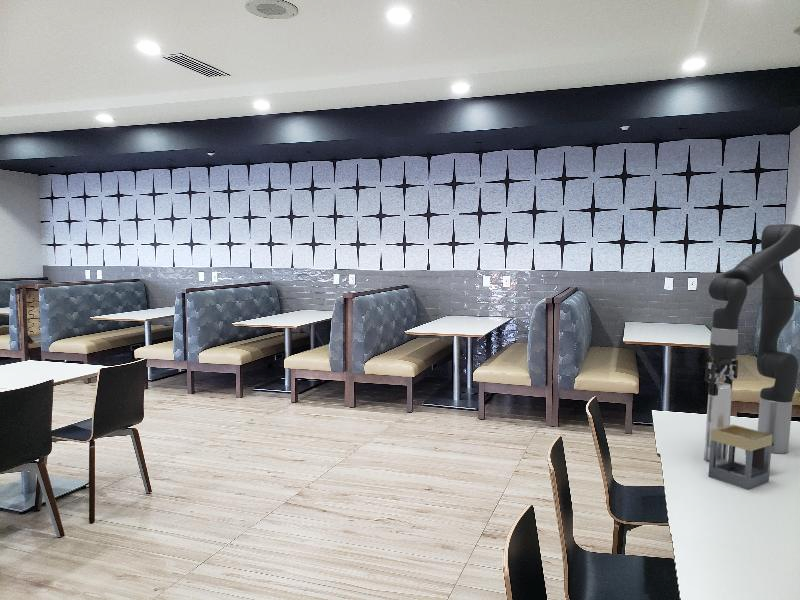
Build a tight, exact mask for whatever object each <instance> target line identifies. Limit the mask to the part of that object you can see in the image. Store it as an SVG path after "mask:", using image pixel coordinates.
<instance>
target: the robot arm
mask: <svg viewBox="0 0 800 600" xmlns="http://www.w3.org/2000/svg"><path fill="white" fill-rule="evenodd" d="M760 248H761V249H760V250H759V251H756V252H754V253H752V254H749V256H747V257H745V258H744V259H742V260H741V261H740V262H739V263H738V264H736V266H735V267H733V268H732V269H729V270H727V271H724V272H723V273H721V274H719V275H718V276H716V277H715V278H713V280H712V281H711V282H710V284H709V285H708V293H709V296H710V297H711V298H712V299H713V300H716V301H725V302H727V303H726V305H725V307H720V308H717V309H715V310H714V311H713V315H712V324H711V325H712V326H711V331H710V339H709V340H710V341H709V356H710V357H711V358H713V360H712V361H711V362H709V361H706V364H705V373H704V382H707V383H708V392H709V395H712V396H716V395H717V383H718V382H719V380H720V379H722V378H724V380H723V381H724V382H723V383H727V384H730V385H731V387H732V388H733V383H734V380H735V379H738V374H739V373H738V370H739V360H738V359H737V356H738V343H739V333H738V332H739V317H740V315H741V311H742V308H743V306H744V303H745V301H746V298H747V295H748V287H749V286H751V285H752V284H753V283H754V282H756V281H757V279H758V278H760V277H761V276H762V289H761V290H762V291H761V305H760V306H761V321H760V322H761V323H760V332H759V333H760V335H759V341H758V349H757V356H756V369H757V372H758V373H759V374H760V375H761V376H762V377H766V378H771V379H775V381H774V384H773V385H772V386H770V387H769V386H768V387H764V388H762V389H760V392H759V393H760V394H759V397H760V398H759V406H758V407H759V409H758V418H757V419H758V422H757V423H758V425H757V431H761V432H764V433H768V434H772V442H773V443H774V446H772V449H771V454H772V453H774V454H787V453H788V452H789V445H790V436H791V435H790V434H791V425H792V423H791V421H792V408H793V399H794V395H795V392H796V389H797V388H796V387H797V380H798V375H799V374H798V373H799V360H798V358H797V356H796V355H795V354H793V353H789V352H784V351H779V350H778V342H779V337H780V334H781V332H782V331H783V329H784V328H785V327H786V326H787V324H788V323H789V322H790V320H791V318H792V317H793V314H794V310H795V291H794V288H793V286H792V285H791V283H790V281H789V280H788V278H787V277H786V275H785V274H784V271H783V270H782V267H781V262H782V261H783V260H785V259H787V258H789V256H792V255H793V254H795V253H797V252H799V250H800V225H799V224H793V223H790V224H787V223H786V224H784V223H783V224H778V223H777V224H768V225H766V226H765V227H764V228H763V230H762V233H761V237H760Z"/></svg>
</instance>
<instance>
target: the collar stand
mask: <svg viewBox="0 0 800 600" xmlns="http://www.w3.org/2000/svg"><path fill="white" fill-rule="evenodd" d="M717 442H720V443H724V444H727V445H728V457H727V461H725V462H722V463H719V464H716V450H717ZM763 447H765V453H764V466H763V470H762V469H759V468H755V467H752V458H753V450H756V449H759V448H763ZM771 447H772V434H768V433H764V432H761V431H758V429H752V428H748V427H745V426H741V425H737V424H733V423H732V424H730V425H729V426H725V427H721V428H717V429H713V430H712V431H711V445H710V460H709V463H708V464H709V465H708V477H709V478H713V479H715V480H718V481H721V482H724V483H727V484H729V483H730V485H733V486H736V487H739V488H741V489H744V490H751V489H754V488H757V487H758V486H761V485H764V484H767V483H769V482H770V471H771V459H772V452H771ZM736 448H738V449H741V450H745V460H744V461H745V463H741V462H739V461H735V454H736ZM731 471H732V472H731Z"/></svg>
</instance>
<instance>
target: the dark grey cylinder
mask: <svg viewBox="0 0 800 600" xmlns="http://www.w3.org/2000/svg"><path fill="white" fill-rule="evenodd" d="M772 446H774V443H773V442H772ZM771 449H772V447H771ZM764 453H765V447H763V448H759V449H756V450H753V458H752V467H755V468H759V469H762V470H763V466H764Z"/></svg>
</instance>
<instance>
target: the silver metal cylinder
mask: <svg viewBox="0 0 800 600" xmlns="http://www.w3.org/2000/svg"><path fill="white" fill-rule="evenodd" d="M732 396H733V386H732V387H731V385H730V384H727V383H724V382H722V381H718V383H717V395H716V396H712V395H709V391H708V395H707V407H706V409H707V411H706V425H705V439H704V440H705V441H704V455H703V457H704V458H703V461H705V462H706V463H708V464H709V460H710V445H711V431H712V430H713V429H717V428H721V427H725V426H729V425H731V411H732V399H733V397H732ZM728 455H729V445H727V444H724V443H720V442H717V450H716V464H719V463H722V462H725V461H728Z"/></svg>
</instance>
